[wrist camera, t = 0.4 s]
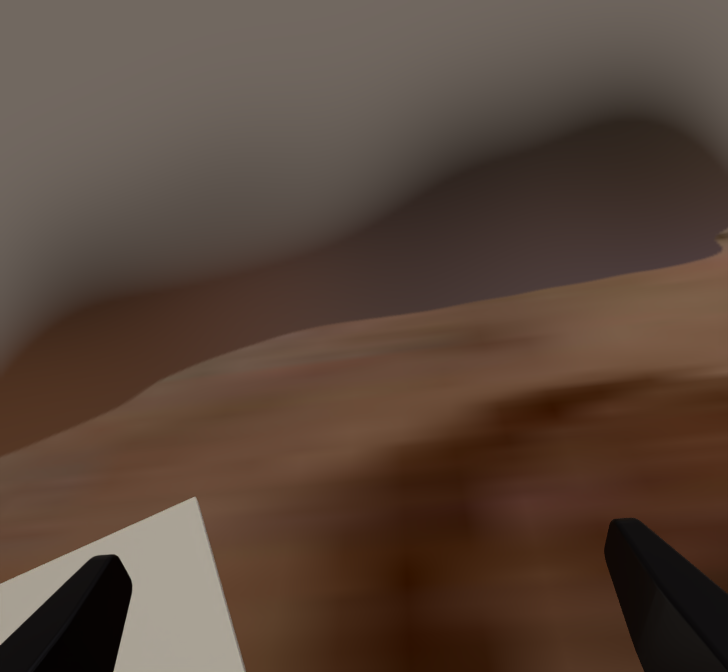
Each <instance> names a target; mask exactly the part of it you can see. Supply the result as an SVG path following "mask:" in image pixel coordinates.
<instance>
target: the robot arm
mask: <svg viewBox="0 0 728 672" xmlns="http://www.w3.org/2000/svg"><path fill="white" fill-rule="evenodd" d="M604 554H605V560H606V563H607V566H608V569H609V572H610V575H611V578H612V581H613V584H614V587H615V591H616V594H617V597H618V600H619V603H620V606H621V609H622V612H623V615H624V618H625V621H626V624H627V627H628V630H629V633H630V636H631V639H632V642H633V644H634V647H635V650H636V653H637V655H638V657H639V660H640V662H641V665H642V667H643V669H644V672H728V594H727V593H726V592H725V591H724V590H723V589H721V588H720V587H719V586H718V585H717V584H715V583H714V582H713V581H712V580H711V579H709V578H708V577H707V576H706V575H705V574H703V573H702V572H701V571H700V570H699V569H697V568H696V567H695V566H694V565H693V564H691V563H690V562H689V561H688V560H687V559H685V558H684V557H683V556H682V555H681V554H679V553H678V552H677V551H676V550H675V549H673V548H672V547H671V546H670V545H669V544H667V543H666V542H665V541H664V540H663V539H661V538H660V537H659V536H658V535H657V534H655V533H654V532H653V531H652V530H651V529H649V528H648V527H647V526H646V525H645V524H643V523H642V522H641V521H639V520H638V519H635V518H620V519H613V520H612V521H611V522H610V525H609V529H608V534H607V538H606V543H605V548H604ZM131 596H132V580H131V578H130V576H129V574H128V572H127V571H126V569H125V567H124V565H123V563H122V562H121V560H120V558H119V557H118V556H117V555H115V554H108V555H97V556H94V557H92V558H91V559H89V560H88V561H87V562H86V563H85V564H84V565H83V566H82V567H81V568H80V569H79V570H78V571H77V572H75V573H74V574H73V575H72V576H71V577H70V578H69V579H68V580H67V581H66V582H65V583H64V584H63V585H62V586H61V587H60V588H59V589H58V590H57V591H56V592H55V593H54V594H53V595H52V596H51V597H50V598H49V599H47V600H46V601H45V602H44V603H43V604H42V605H41V606H40V607H39V608H38V609H37V610H36V611H35V612H34V613H33V614H32V615H31V616H30V617H29V618H28V619H27V620H26V621H25V622H24V623H23V624H22V625H20V626H19V627H18V628H17V629H16V630H15V631H14V632H13V633H12V634H11V635H10V636H9V637H8V638H7V639H6V640H5V641H4V642H3V643H2V644H1V645H0V672H114V668H115V664H116V660H117V655H118V651H119V647H120V642H121V638H122V634H123V630H124V625H125V621H126V617H127V613H128V608H129V604H130V600H131Z"/></svg>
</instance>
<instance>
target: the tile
mask: <svg viewBox="0 0 728 672" xmlns="http://www.w3.org/2000/svg"><path fill="white" fill-rule="evenodd" d="M108 554H115V555H117V556H118V557H119V558H120V560H121V562H122V563H123V565H124V567H125V569H126V571H127V572H128V574H129V576H130V578H131V580H132V596H131V600H130V604H129V608H128V613H127V617H126V621H125V625H124V630H123V634H122V638H121V642H120V647H119V651H118V655H117V660H116V664H115V668H114V672H246V670H245V666H244V663H243V659H242V656H241V652H240V649H239V645H238V642H237V638H236V634H235V631H234V627H233V624H232V620H231V617H230V613H229V610H228V606H227V602H226V599H225V595H224V592H223V588H222V585H221V581H220V578H219V574H218V570H217V567H216V563H215V560H214V556H213V553H212V549H211V546H210V542H209V538H208V535H207V531H206V528H205V524H204V521H203V517H202V514H201V510H200V506H199V503H198V501H197V499H196V497H193V498H191V499H189V500H186V501H184V502H182V503H180V504H178V505H175V506H173V507H171V508H169V509H166V510H164V511H162V512H160V513H157V514H155V515H153V516H151V517H149V518H146V519H144V520H142V521H140V522H137V523H135V524H133V525H131V526H128V527H126V528H124V529H122V530H120V531H117V532H115V533H113V534H111V535H108V536H106V537H104V538H102V539H99V540H97V541H95V542H93V543H91V544H88V545H86V546H84V547H82V548H79V549H77V550H75V551H73V552H71V553H68V554H66V555H64V556H62V557H59V558H57V559H55V560H53V561H50V562H48V563H46V564H44V565H42V566H39V567H37V568H35V569H33V570H30V571H28V572H26V573H24V574H21V575H19V576H17V577H15V578H13V579H10V580H8V581H6V582H4V583H1V584H0V645H1V644H2V643H3V642H4V641H5V640H6V639H7V638H8V637H9V636H10V635H11V634H12V633H13V632H14V631H15V630H16V629H17V628H18V627H19V626H20V625H22V624H23V623H24V622H25V621H26V620H27V619H28V618H29V617H30V616H31V615H32V614H33V613H34V612H35V611H36V610H37V609H38V608H39V607H40V606H41V605H42V604H43V603H44V602H45V601H46V600H47V599H49V598H50V597H51V596H52V595H53V594H54V593H55V592H56V591H57V590H58V589H59V588H60V587H61V586H62V585H63V584H64V583H65V582H66V581H67V580H68V579H69V578H70V577H71V576H72V575H73V574H74V573H75V572H77V571H78V570H79V569H80V568H81V567H82V566H83V565H84V564H85V563H86V562H87V561H88V560H89V559H91V558H92V557H94V556H97V555H108Z"/></svg>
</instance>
